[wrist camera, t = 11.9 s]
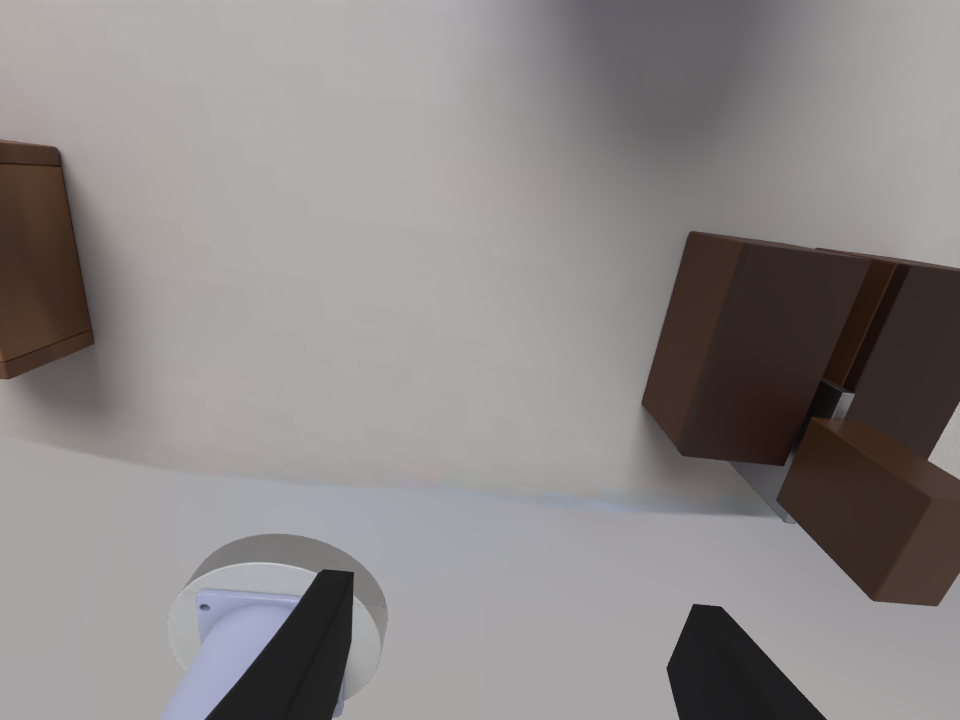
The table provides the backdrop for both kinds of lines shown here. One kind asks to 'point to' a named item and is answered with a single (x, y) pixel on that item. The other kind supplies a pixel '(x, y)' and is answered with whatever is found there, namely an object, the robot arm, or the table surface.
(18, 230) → the knife block
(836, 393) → the brown and grey piece
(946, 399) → the split wooden block
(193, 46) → the table surface
